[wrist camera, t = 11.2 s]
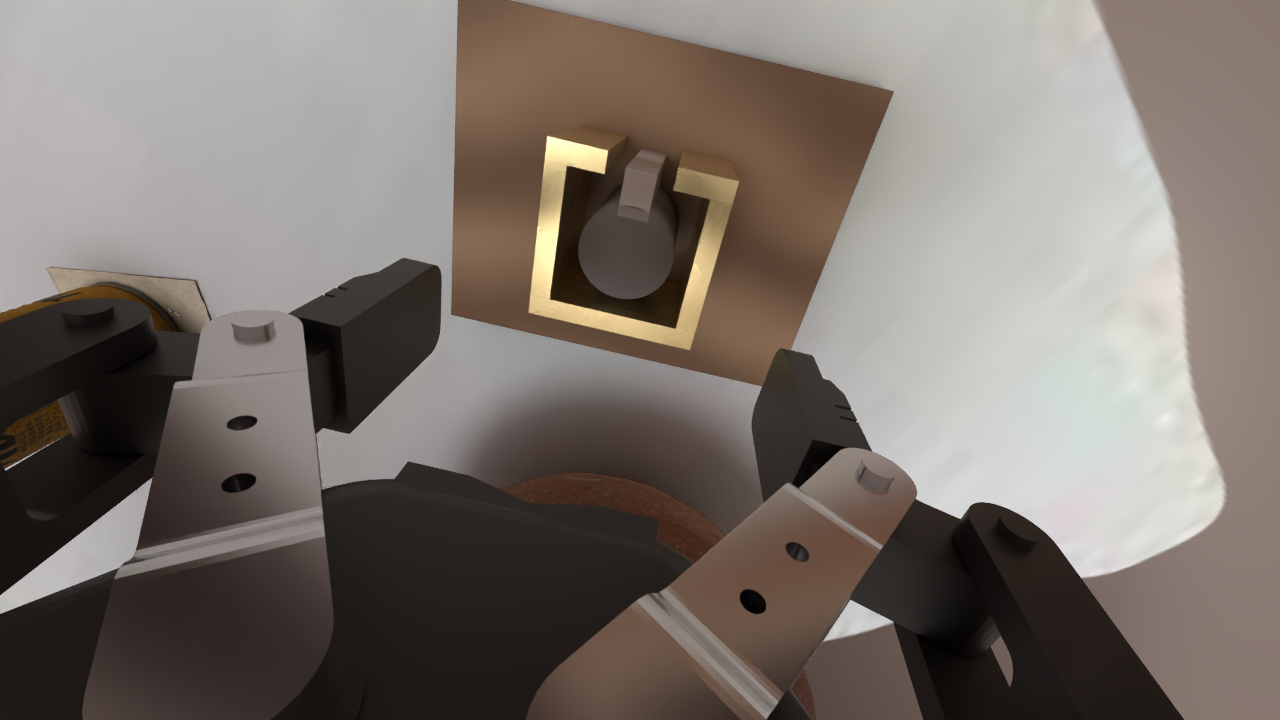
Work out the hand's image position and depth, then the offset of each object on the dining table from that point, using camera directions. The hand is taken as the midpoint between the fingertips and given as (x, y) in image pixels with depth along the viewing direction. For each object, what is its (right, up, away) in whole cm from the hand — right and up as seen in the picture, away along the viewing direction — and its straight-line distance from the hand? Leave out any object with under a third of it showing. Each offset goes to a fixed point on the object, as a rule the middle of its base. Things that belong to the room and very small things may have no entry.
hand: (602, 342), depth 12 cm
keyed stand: (+1, +6, +11) cm, 12 cm away
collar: (+1, +6, +9) cm, 11 cm away
